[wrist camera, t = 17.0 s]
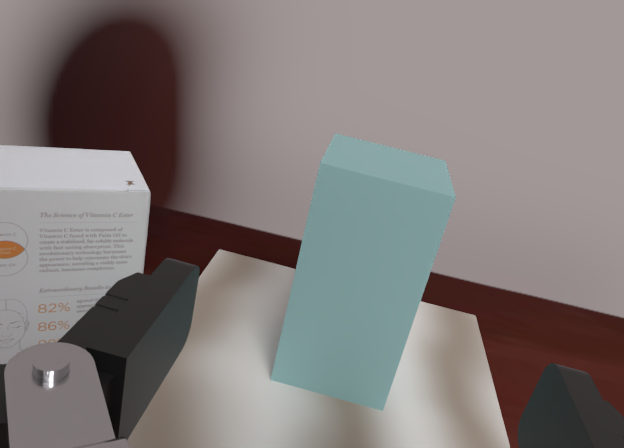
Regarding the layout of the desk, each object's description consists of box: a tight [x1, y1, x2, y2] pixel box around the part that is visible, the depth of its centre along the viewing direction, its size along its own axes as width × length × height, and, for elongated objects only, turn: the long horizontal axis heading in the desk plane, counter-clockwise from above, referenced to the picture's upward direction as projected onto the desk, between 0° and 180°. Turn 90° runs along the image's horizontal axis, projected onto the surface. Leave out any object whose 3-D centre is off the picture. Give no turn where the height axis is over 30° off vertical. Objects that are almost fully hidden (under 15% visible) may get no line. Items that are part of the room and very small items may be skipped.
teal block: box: [271, 134, 456, 411], centre depth 24 cm, size 5×5×10 cm
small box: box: [0, 145, 150, 364], centre depth 28 cm, size 8×6×10 cm
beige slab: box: [127, 249, 510, 448], centre depth 27 cm, size 16×16×5 cm
